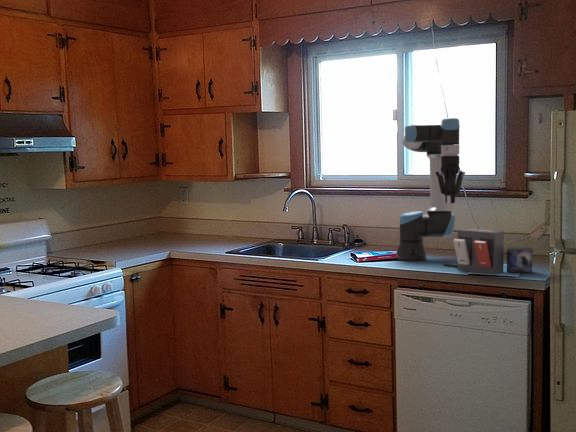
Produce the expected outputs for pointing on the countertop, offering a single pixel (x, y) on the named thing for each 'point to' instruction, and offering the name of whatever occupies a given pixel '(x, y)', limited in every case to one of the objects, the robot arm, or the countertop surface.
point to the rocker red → (482, 253)
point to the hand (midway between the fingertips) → (450, 210)
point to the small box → (519, 260)
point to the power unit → (494, 249)
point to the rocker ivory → (461, 251)
